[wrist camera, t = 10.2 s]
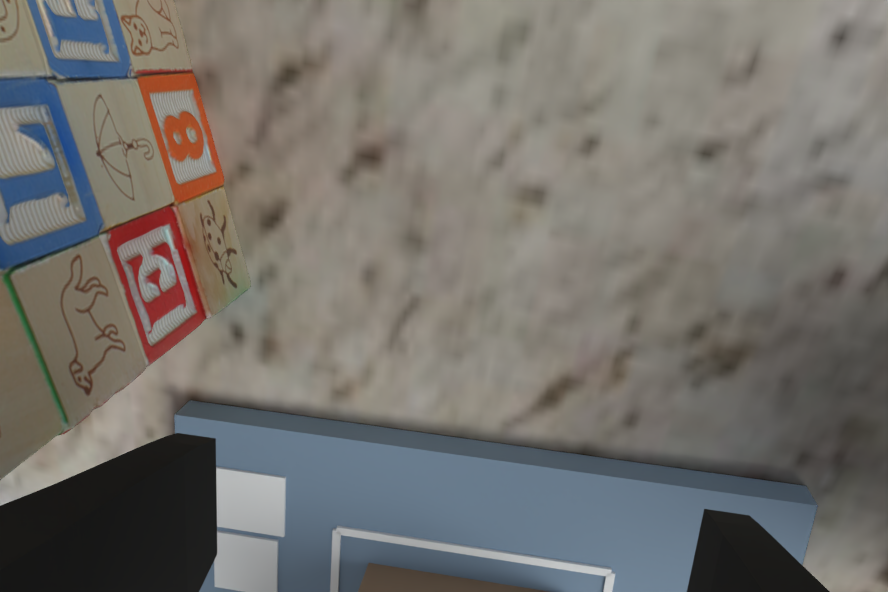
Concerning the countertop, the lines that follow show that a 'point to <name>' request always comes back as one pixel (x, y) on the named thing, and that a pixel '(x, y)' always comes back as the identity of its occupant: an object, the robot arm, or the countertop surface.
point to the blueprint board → (456, 511)
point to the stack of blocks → (100, 209)
